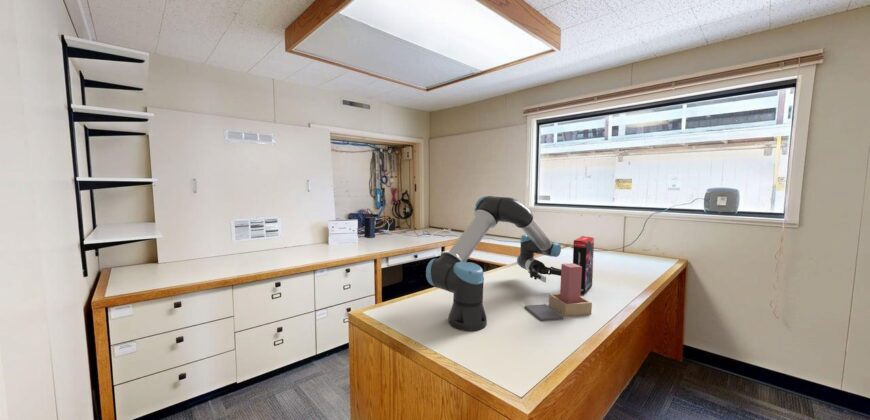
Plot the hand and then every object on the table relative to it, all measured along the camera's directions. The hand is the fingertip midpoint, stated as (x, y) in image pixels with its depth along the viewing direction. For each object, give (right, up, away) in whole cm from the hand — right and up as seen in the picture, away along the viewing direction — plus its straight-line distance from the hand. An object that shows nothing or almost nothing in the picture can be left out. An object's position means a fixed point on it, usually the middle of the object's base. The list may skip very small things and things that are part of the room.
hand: (558, 278), depth 154 cm
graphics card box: (+20, -10, +19) cm, 29 cm away
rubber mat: (-11, -12, -13) cm, 21 cm away
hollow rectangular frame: (+2, -12, -8) cm, 15 cm away
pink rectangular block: (+2, -12, -8) cm, 15 cm away
